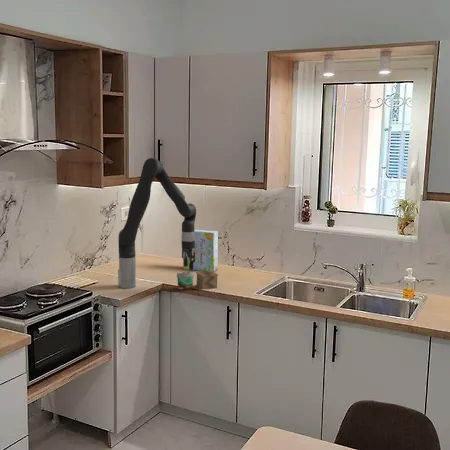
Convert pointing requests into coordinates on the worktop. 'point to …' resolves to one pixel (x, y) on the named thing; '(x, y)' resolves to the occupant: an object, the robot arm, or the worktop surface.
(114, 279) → the worktop surface
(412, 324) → the worktop surface
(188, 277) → the food container
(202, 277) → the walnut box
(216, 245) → the snack box
